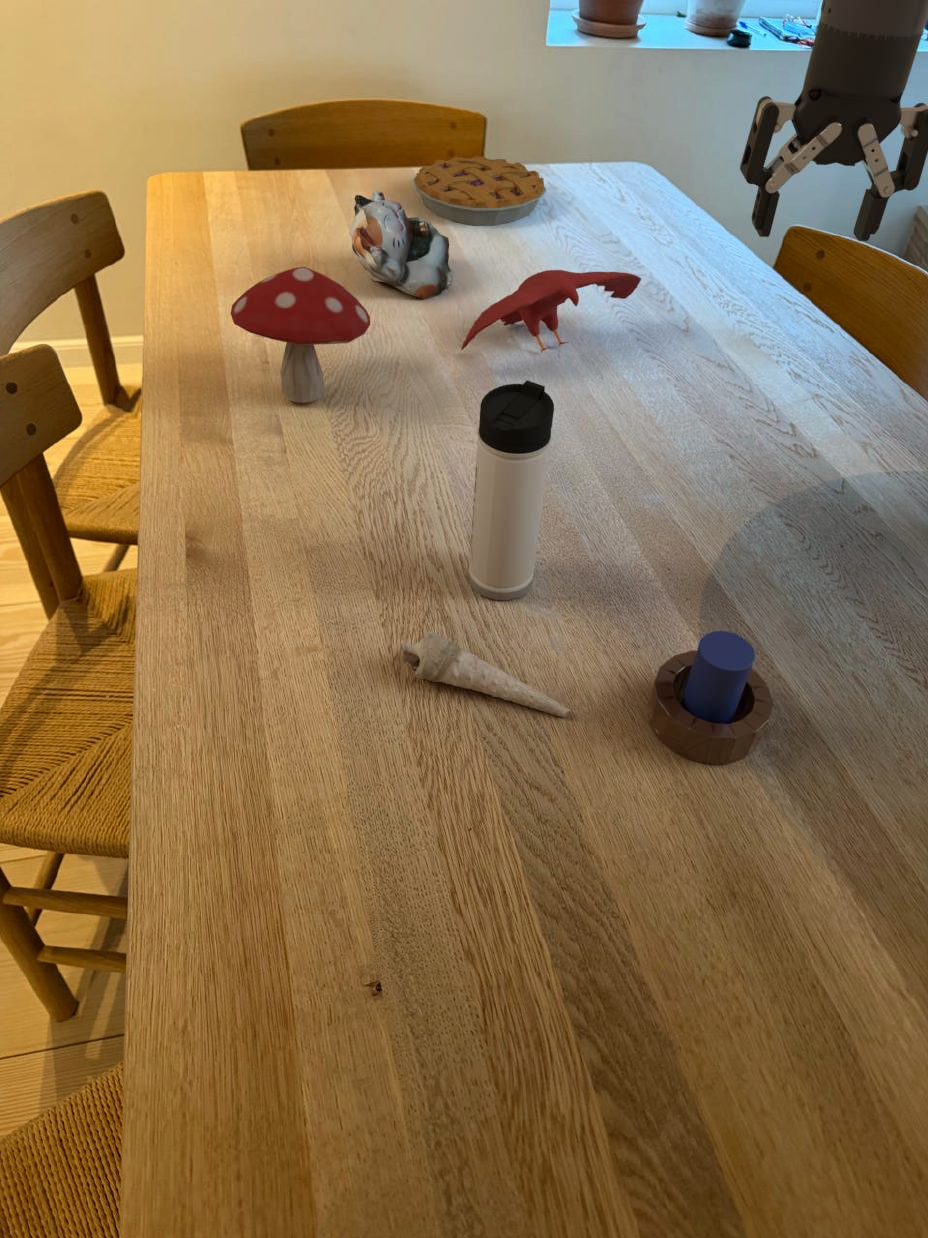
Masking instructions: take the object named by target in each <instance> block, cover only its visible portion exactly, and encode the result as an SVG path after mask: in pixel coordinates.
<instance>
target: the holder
mask: <svg viewBox="0 0 928 1238" xmlns="http://www.w3.org/2000/svg"><path fill="white" fill-rule="evenodd" d="M696 652H697V650H689V651H685V652H682V653H678V654H675V655H673V656H672V657H670V659H668V660H667V661H666V662H664V663H663V664H662V665H660V667H659V668H658V671H657V673H656V676H655V679H654V682H653V685H652V688H651V693H650V696H649V699H648V703H647V718H648V722H649V725H650V727H651V730H652V731H653V733H654V734H655V736H656V737H657V738H658V740H660V742H661V743H662V744H663V745H664V746H666V747H667V748H668V749H669V750H671V751H672V752H674V753H675V754H677V755H679V756H680V757H683V758H685V759H687V760H690V761H692V762H696V763H700V764H705V765H712V766H713V765H714V766H715V765H717V766H719V765H729V764H733V763H736V762H739V761H741V760H744V759H745V758H747V757H748V756H750V755H752V753H753V752H754V751H755V750H756V749H757V747H758V745H759V744H761V741H762V739H763V736H764V734H765V732H766V729H767V727H768V724H769V722H770V719H771V716H772V711H773V707H774V701H773V697H772V693H771V690H770V687H769V685H768V684H767V683H766V681H765V680H764V679H763V677H761V675H760V674H759V673H758V672H757V671H756V670H755V669H754V668H753V667H752V668H751V671H750V673H749V676H748V679H747V681H746V684H745V687H744V689H743V692H742V695H741V697H740V700H739V703H738V706H737V708H736V711H735V714H734V716H733V719H732V722H731V723H730V724H719V723H711V722H708V721H705V720H702V719H699V718H696V717H695V716H693V715H692V714H691V713H689V712H688V711H686V710H685V709H683V707H682V706H681V705H680V704H681V701H682V698H683V694H684V691H685V688H686V685H687V681H688V678H689V675H690V672H691V668H692V665H693V662H694V659H695V655H696Z"/></svg>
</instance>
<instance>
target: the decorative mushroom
mask: <svg viewBox="0 0 928 1238" xmlns="http://www.w3.org/2000/svg"><path fill="white" fill-rule="evenodd" d="M230 316H231V320H232V322H233V324H234V325H235V326H237V327H239V328H241V329H242V330H244V331H246V332H248V333H251V334H253V335H257V336H261V337H264V338H267V339H270V340H274V341H279V342H284V343H286V344H285V347H284V348H285V349H284V352H283V359H282V362H281V367H280V382H281V383H280V384H281V392H282V396H283V397H285V399H287V400H288V401H291V402H293V403H299V404H307V403H311V402H315V401H318V400H320V398H321V397H323V396H324V393H325V385H324V373H323V369H322V366H321V363H320V361H319V358H318V354H317V350H316V348H315V345H316V346H317V345H318V346H319V345H336V344H337V345H338V344H339V345H341V344H350V343H351V342H353V341H355V340H358V339H359V338H360V337H362V336H364V335H365V334H366V332H367V331H368V330H369V328H370V326H371V316H370V315H369V312H368V311H367V309H366V308H365V306H364V305H363V304H362V303H361V302H360V300H358V298H357V297H356V296H355V295H354V294H353V293H352V292H351V291H350V290H348V289H347V288H346V287H345V286H343V285H341V284H340V283H339V282H337V281H335V280H334V279H331V278H330V277H328V276H326V275H324V274H323V273H320V272H318V271H316V270H314V269H311V268H308V267H304V266H299V267H294V268H290V269H287V270H284V271H280V272H278V273H275V274H273V275H270V276H268V277H266V278H263V279H262V280H259V281H258V282H257V283H255V284H254V285H252V286H251V287H250V288H248V289H246V290H245V292H243V293H242V294H241V295H240V296H239V297H238V298H237V299H236V300H235V301H234V302H233V303H232V304H231V309H230Z"/></svg>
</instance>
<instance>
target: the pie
mask: <svg viewBox="0 0 928 1238" xmlns="http://www.w3.org/2000/svg"><path fill="white" fill-rule="evenodd" d="M412 181H413V183H414V188H415V190H416V192H418V193H419V194H420V198H421V200H422V201H423V204H424V206H425V207H426V208H427V209H429V211H431V212H432V213H433V214H434V215H436V216H439V217H441V218H443V219H446V220H449V221H451V222H454V223H459V224H460V223H461V224H465V225H469V226H470V225H471V226H497V225H502V224H507V223H513V222H517V221H518V220H520V219H523V218H525V217H527V216H529V215H531V213H532V212H533V211H534V210H535V208H536V207H537V205H538V202H539V201H540V200H541V198H542V197H543V196H544V194H545V193H546V191H547V188H546V187H545V181H544V177H540V174H539V172H538V171H536V170H528V169H527V168H526V166H525V165H524V164H522V163H520V162H514V163H511V162H508V161H507V159H505V158H504V159H503V158H495V159H492V158H491V159H489V158H487V157H486V156H485V155H474V156H473V157H472V158H465V157H461V156H454V157H452V158H451V159H448V160H443V159H441V158H439V159H435V160H434V161H433V163H432V164H431V165H423V166H422V167H421V168H420V169H419V170H418V172H417V173H416V175H415V177H414V178H413V180H412Z"/></svg>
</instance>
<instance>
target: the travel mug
mask: <svg viewBox="0 0 928 1238" xmlns="http://www.w3.org/2000/svg"><path fill="white" fill-rule="evenodd" d="M545 389H546V386H545V385H542V384H540V383H536V382H534V381H531V380H525V381H524V382H523V383H508V384H503V385H500V386H498V387H495V388H492V389H491V390H490V391H488V392H487V393H486V394H485V395H484V396H483V398H482V399H481V402H480V407H479V424H478V429H477V443H476V459H475V472H474V473H475V474H474V488H473V489H474V490H473V491H474V492H473V502H472V518H471V535H470V549H469V563H468V577H467V578H468V582H469V584H470V586H471V587H472V589H473V591H475V592H476V593H478V594H479V595H480V596H482V597H485V598H488V599H490V600H495V601H511V600H515V599H518V598H520V597H523V596H524V595H525V594H526V593H527V592H529V591H530V589H531V588H532V585H533V581H534V575H535V574H534V573H535V566H536V559H537V552H538V551H537V549H538V543H539V535H540V527H541V520H542V512H543V506H544V505H543V504H544V496H545V489H546V482H547V481H546V480H547V472H548V466H549V465H548V464H549V459H550V458H549V457H550V449H551V441H552V427H553V423H554V413H555V404H554V401H553V398H552V397H551V396H550V394H548V393H547V392H546V391H545Z"/></svg>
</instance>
